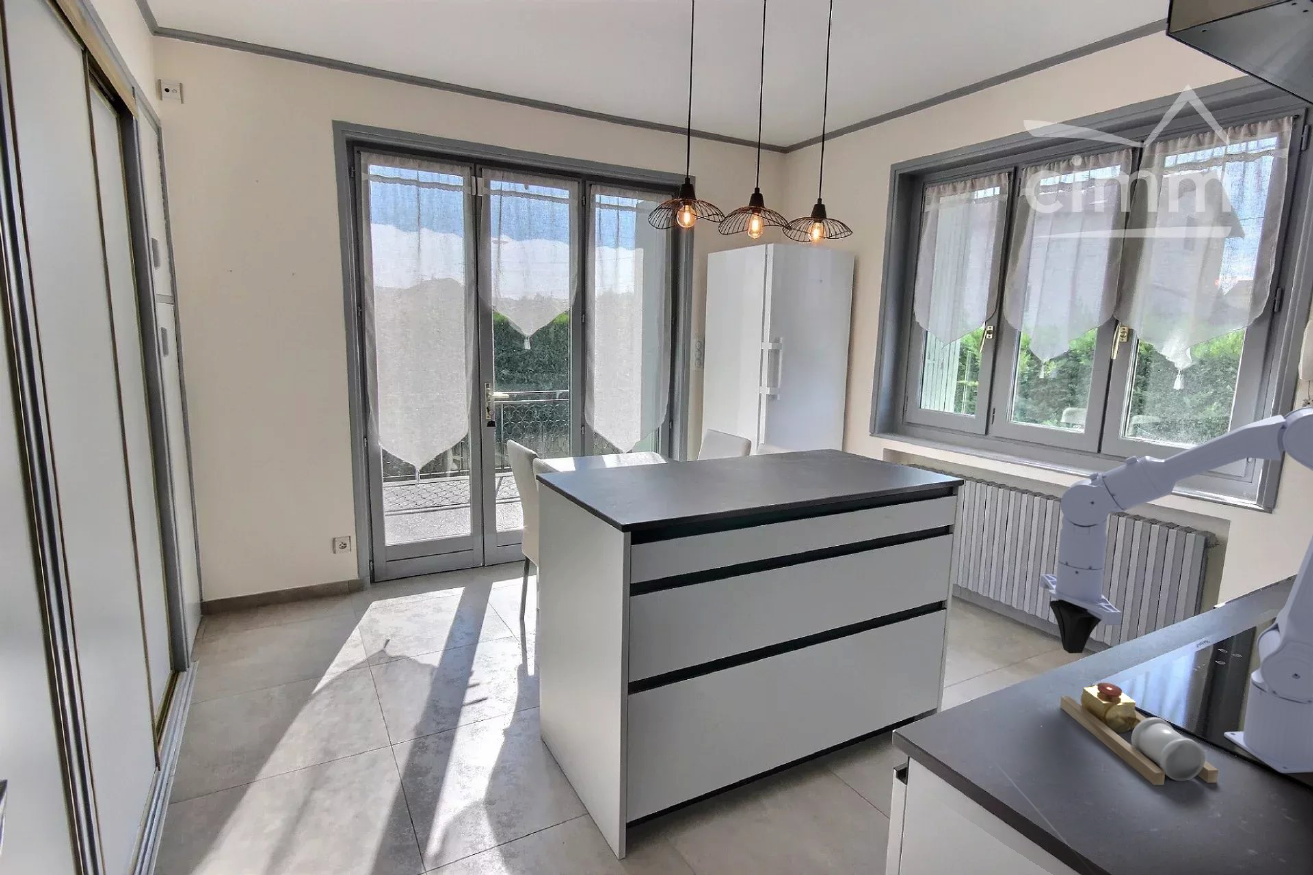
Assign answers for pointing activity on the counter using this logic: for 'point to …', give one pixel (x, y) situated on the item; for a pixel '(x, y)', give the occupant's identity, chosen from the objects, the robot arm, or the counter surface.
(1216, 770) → the guide rails
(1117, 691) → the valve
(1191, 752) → the coupling
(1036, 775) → the counter surface
